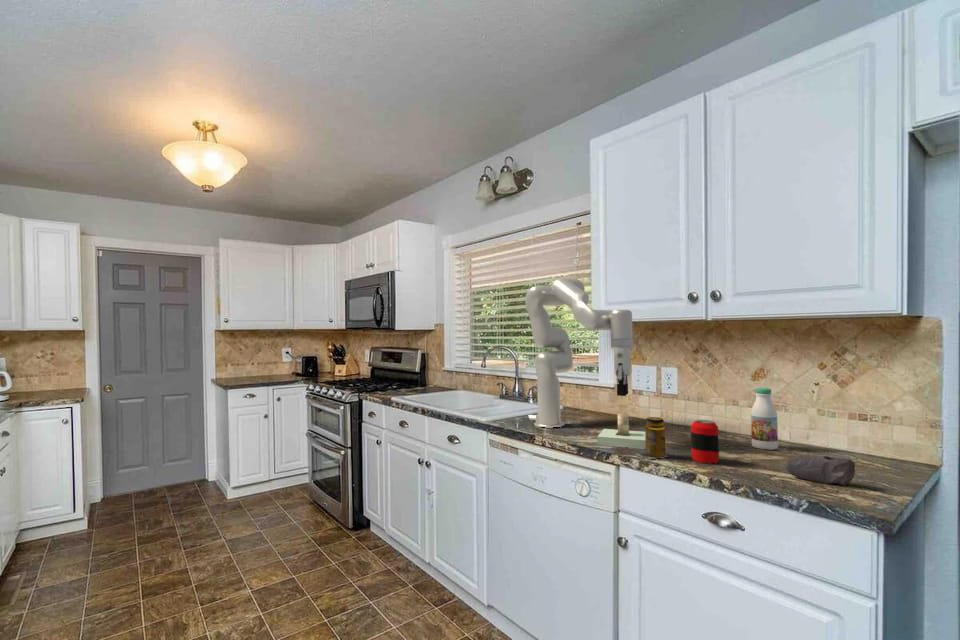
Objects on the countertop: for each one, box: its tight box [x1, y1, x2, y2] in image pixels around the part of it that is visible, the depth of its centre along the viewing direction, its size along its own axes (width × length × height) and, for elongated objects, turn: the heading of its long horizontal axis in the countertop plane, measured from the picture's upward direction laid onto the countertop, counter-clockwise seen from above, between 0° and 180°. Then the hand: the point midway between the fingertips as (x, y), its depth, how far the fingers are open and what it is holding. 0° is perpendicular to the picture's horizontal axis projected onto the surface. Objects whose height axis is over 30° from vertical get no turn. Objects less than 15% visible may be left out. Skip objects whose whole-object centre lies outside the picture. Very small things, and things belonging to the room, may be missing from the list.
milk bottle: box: [750, 387, 779, 451], centre depth 160 cm, size 8×8×20 cm
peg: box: [617, 413, 630, 436], centre depth 169 cm, size 4×4×10 cm
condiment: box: [635, 416, 667, 459], centre depth 151 cm, size 7×8×12 cm
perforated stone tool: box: [784, 454, 856, 486], centre depth 124 cm, size 15×5×7 cm, turn 48°
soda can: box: [690, 419, 720, 464], centre depth 145 cm, size 8×8×12 cm
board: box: [596, 428, 646, 450], centre depth 169 cm, size 16×14×3 cm
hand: (622, 394), depth 169 cm, fingers open, 4 cm apart
